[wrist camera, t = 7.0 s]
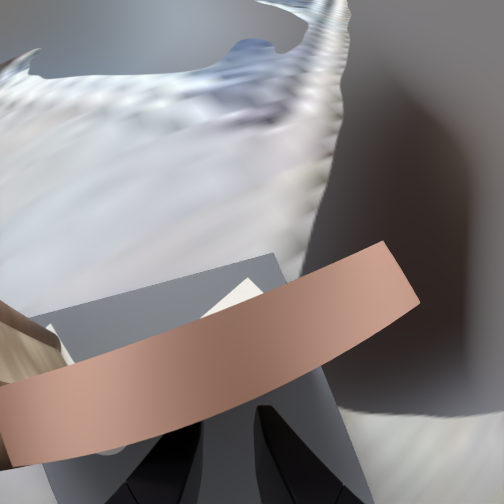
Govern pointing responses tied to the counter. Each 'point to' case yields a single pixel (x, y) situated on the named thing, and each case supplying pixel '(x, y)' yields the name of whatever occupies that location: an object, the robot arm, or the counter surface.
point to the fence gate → (202, 363)
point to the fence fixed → (26, 347)
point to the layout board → (216, 427)
